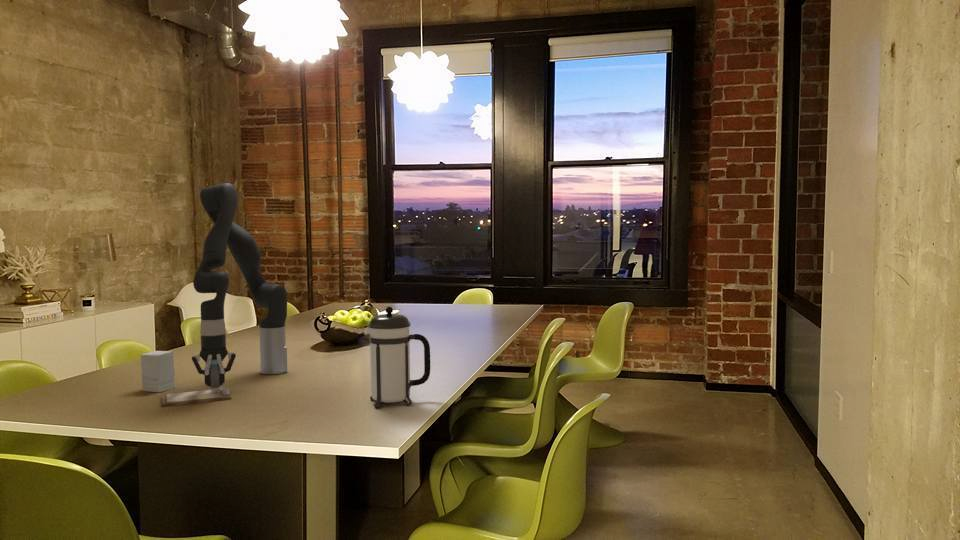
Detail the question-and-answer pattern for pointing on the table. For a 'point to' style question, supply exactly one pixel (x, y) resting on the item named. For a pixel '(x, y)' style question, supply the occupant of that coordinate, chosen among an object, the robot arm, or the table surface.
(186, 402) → the writing board
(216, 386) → the marker
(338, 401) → the table surface
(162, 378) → the supplement box
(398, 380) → the coffee press
